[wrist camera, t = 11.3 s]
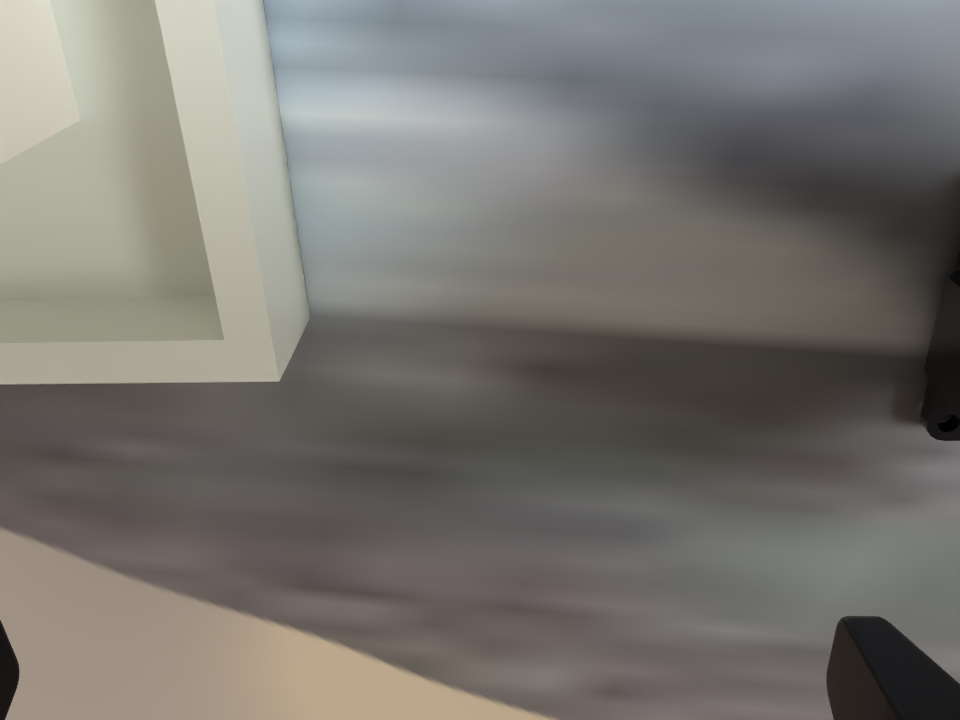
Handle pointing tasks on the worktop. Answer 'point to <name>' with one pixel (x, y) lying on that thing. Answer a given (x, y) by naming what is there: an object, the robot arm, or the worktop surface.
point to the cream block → (32, 77)
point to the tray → (154, 207)
